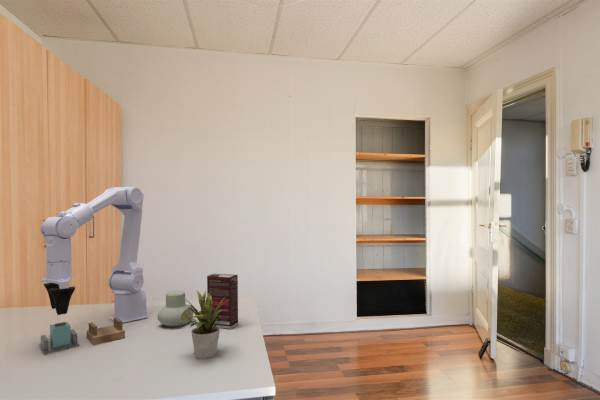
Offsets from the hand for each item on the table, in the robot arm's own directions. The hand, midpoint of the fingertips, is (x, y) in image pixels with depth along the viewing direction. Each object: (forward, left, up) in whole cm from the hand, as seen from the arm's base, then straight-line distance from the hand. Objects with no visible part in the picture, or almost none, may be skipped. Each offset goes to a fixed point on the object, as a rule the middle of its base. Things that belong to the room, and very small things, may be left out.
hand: (59, 311), depth 101 cm
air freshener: (-31, +4, -10) cm, 33 cm away
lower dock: (0, 0, -10) cm, 10 cm away
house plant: (-26, +31, -10) cm, 42 cm away
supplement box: (-41, +16, -10) cm, 45 cm away
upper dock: (-11, +2, -10) cm, 15 cm away
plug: (0, 0, -9) cm, 9 cm away
